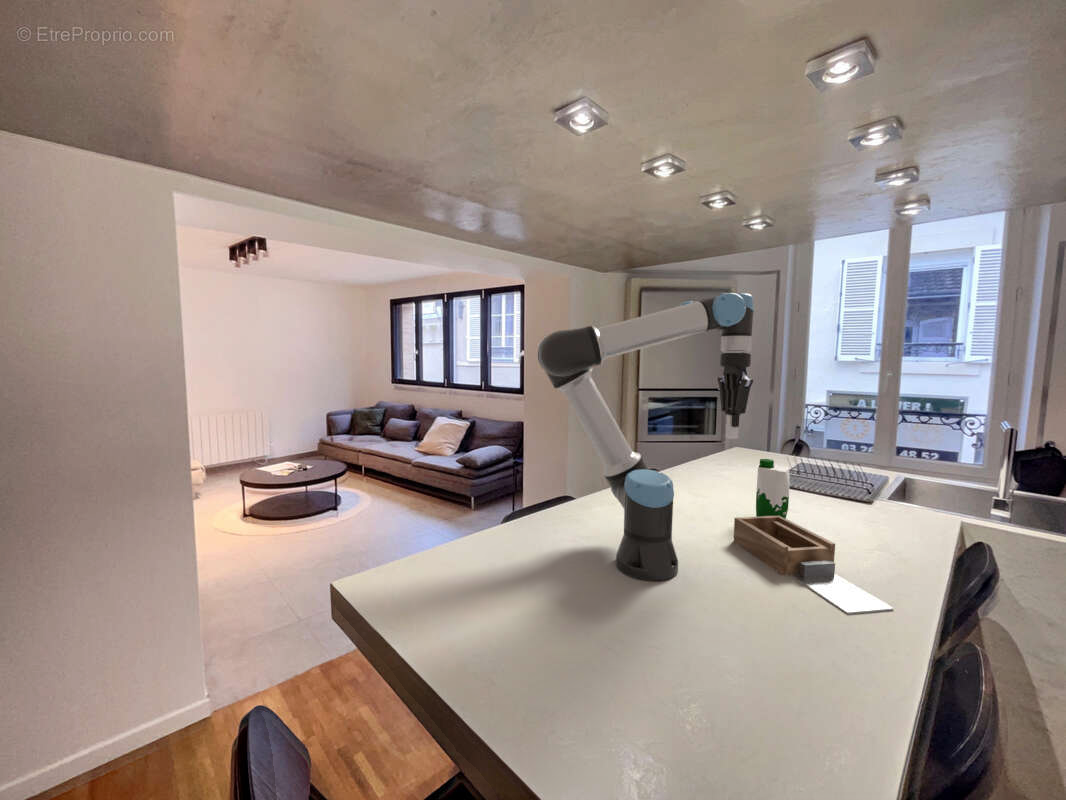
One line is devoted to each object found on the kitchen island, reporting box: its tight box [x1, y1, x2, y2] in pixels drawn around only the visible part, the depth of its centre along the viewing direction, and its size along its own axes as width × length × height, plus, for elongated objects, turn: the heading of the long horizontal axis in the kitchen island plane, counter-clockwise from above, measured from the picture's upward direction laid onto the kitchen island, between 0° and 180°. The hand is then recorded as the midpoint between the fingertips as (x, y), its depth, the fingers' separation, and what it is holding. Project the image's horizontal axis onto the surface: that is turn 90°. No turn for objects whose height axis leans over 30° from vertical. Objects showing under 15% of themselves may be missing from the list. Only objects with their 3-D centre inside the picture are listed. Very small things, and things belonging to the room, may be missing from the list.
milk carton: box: [755, 458, 791, 519], centre depth 142 cm, size 9×9×20 cm
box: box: [733, 516, 836, 576], centre depth 118 cm, size 14×20×7 cm
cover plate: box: [788, 560, 894, 615], centre depth 100 cm, size 11×17×4 cm, turn 8°
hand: (731, 438), depth 123 cm, fingers closed
